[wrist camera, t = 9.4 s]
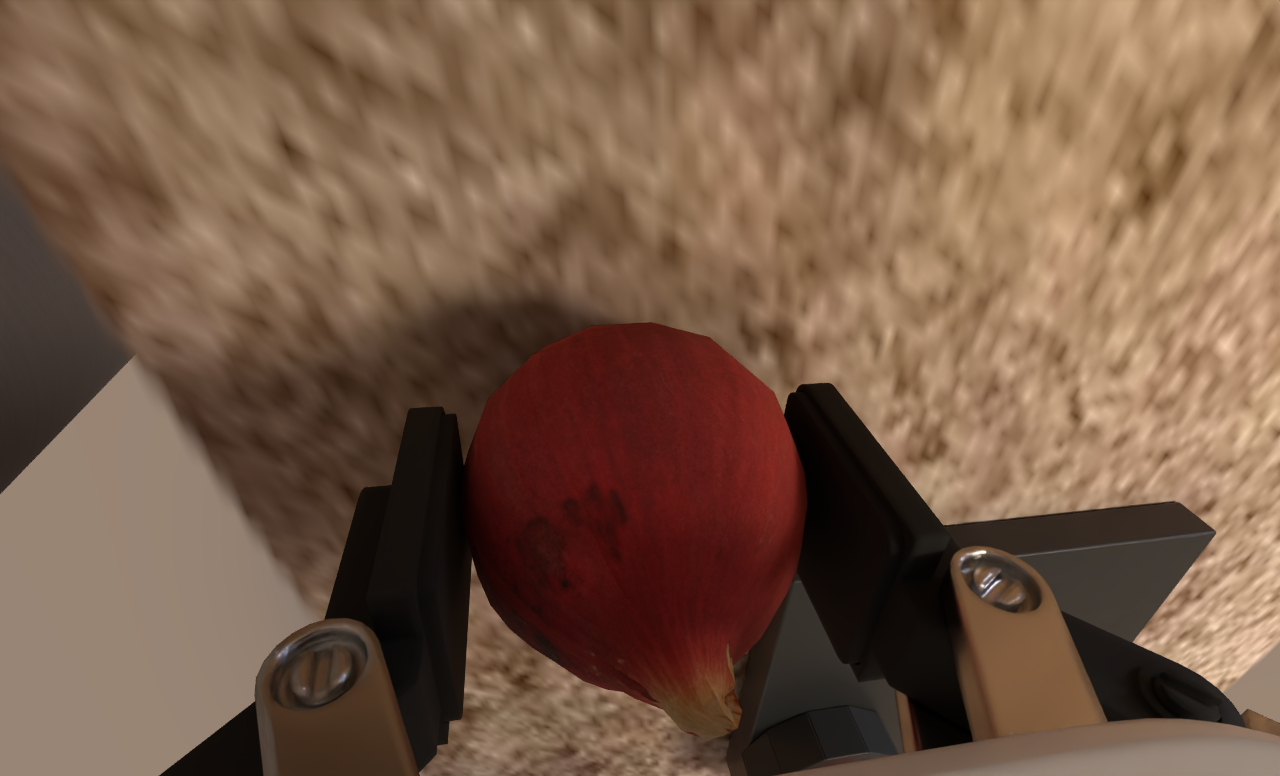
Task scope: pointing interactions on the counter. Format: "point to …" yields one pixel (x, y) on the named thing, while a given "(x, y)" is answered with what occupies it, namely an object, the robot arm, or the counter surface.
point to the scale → (866, 711)
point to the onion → (637, 514)
